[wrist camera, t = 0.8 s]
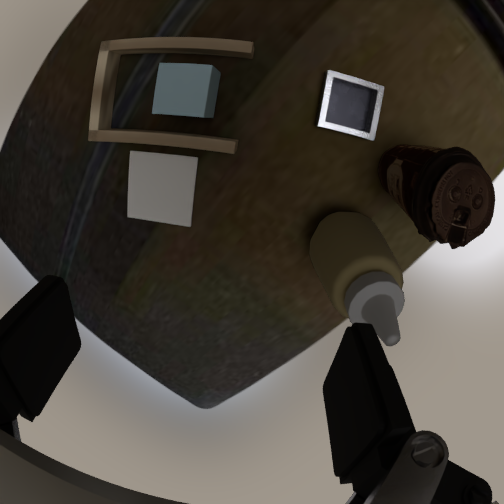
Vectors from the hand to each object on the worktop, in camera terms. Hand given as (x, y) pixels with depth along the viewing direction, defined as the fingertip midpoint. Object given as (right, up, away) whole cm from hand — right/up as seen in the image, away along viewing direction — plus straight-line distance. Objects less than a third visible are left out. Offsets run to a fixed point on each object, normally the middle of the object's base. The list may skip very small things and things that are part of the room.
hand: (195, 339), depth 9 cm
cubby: (-6, +20, +19) cm, 28 cm away
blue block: (-4, +19, +19) cm, 27 cm away
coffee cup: (+19, +12, +21) cm, 31 cm away
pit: (+12, +18, +18) cm, 28 cm away
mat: (-9, +10, +23) cm, 27 cm away
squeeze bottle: (+12, +5, +25) cm, 28 cm away
